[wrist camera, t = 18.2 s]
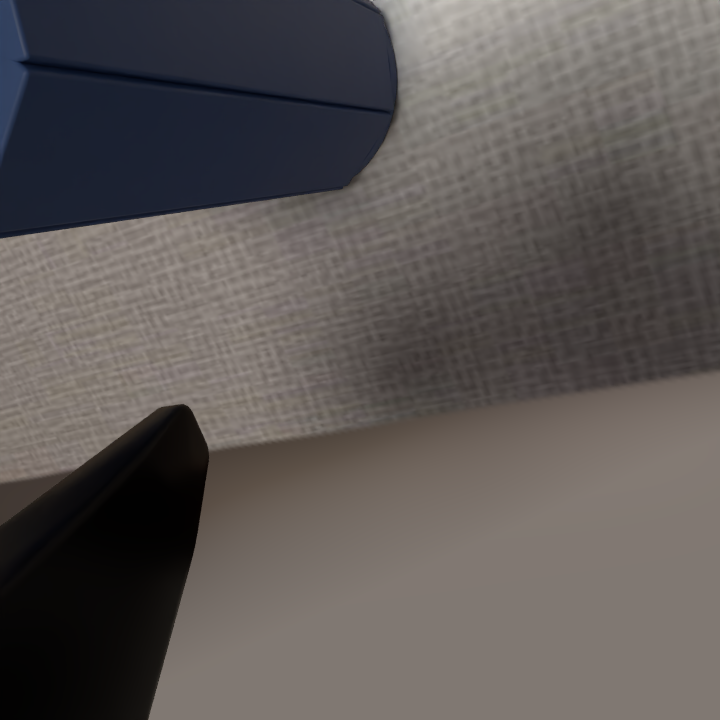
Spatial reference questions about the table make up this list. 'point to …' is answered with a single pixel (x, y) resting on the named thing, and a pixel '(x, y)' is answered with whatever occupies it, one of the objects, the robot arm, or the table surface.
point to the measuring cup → (183, 105)
